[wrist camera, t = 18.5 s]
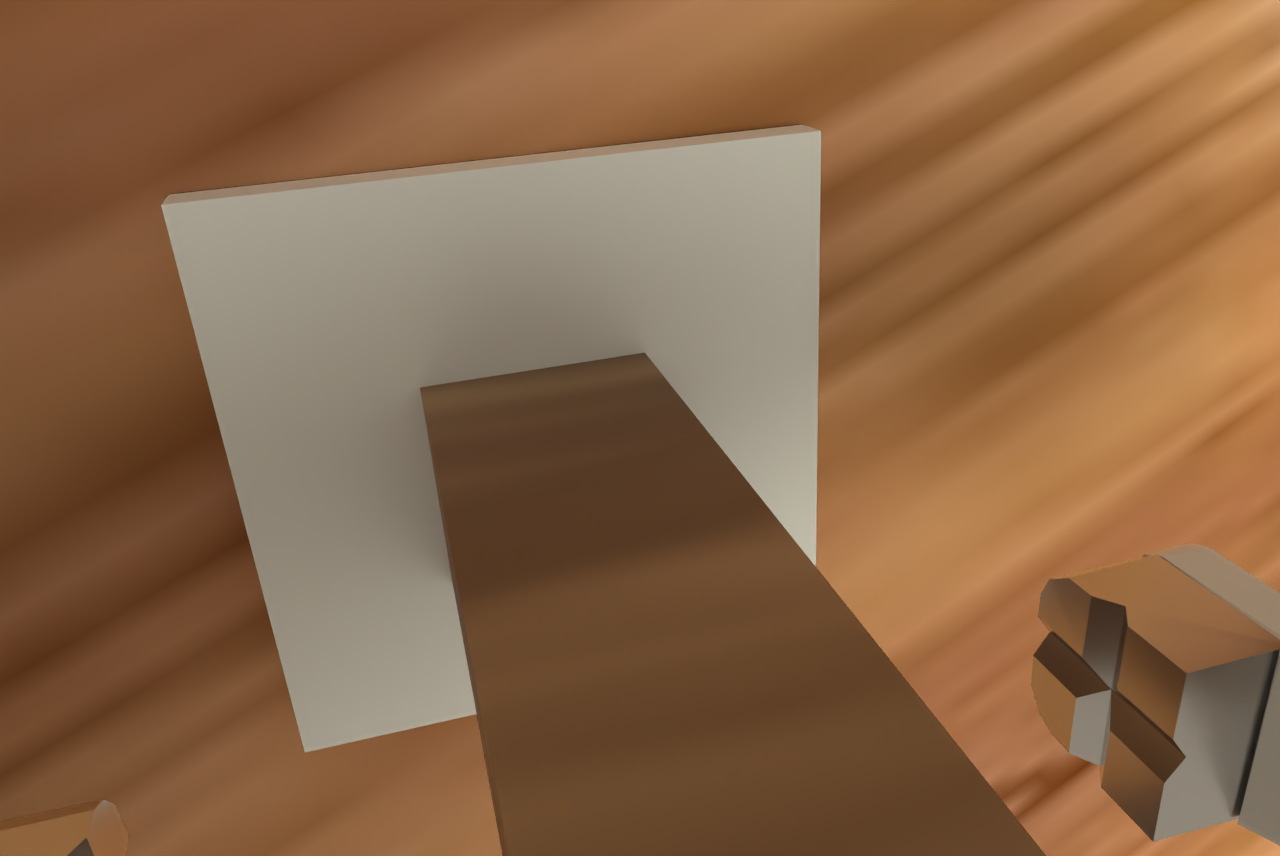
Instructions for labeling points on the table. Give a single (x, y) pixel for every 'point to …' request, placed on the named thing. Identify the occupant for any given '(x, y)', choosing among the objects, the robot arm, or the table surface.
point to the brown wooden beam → (671, 643)
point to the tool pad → (480, 365)
